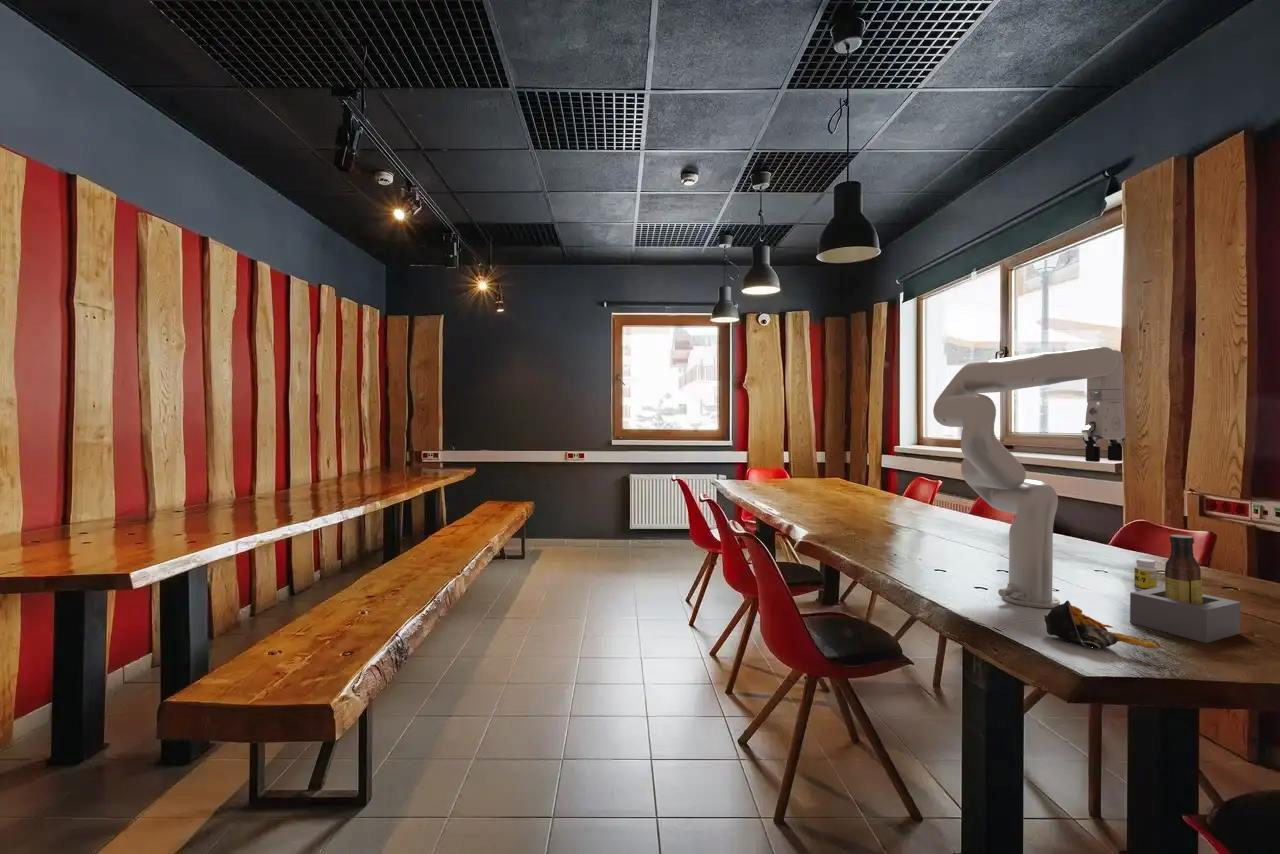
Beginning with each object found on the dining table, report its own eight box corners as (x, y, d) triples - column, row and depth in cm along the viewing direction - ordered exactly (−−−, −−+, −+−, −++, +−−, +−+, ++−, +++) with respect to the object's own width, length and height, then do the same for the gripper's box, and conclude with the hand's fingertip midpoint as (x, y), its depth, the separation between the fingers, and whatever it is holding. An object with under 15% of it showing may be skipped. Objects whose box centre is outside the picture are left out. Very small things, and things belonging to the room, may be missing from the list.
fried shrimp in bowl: (1042, 607, 135) (1140, 595, 125) (1059, 659, 130) (1162, 650, 120) (1034, 600, 129) (1137, 587, 119) (1051, 655, 124) (1160, 645, 114)
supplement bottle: (1129, 587, 168) (1129, 558, 168) (1145, 587, 168) (1145, 557, 168) (1145, 592, 163) (1145, 562, 163) (1161, 592, 164) (1161, 561, 164)
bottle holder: (1206, 643, 126) (1206, 610, 126) (1130, 622, 139) (1130, 592, 139) (1240, 633, 132) (1240, 602, 132) (1163, 614, 145) (1164, 585, 144)
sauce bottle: (1195, 620, 137) (1196, 534, 137) (1208, 629, 131) (1209, 539, 131) (1159, 617, 140) (1160, 532, 140) (1170, 625, 134) (1171, 537, 134)
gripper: (1100, 395, 152) (1099, 463, 152) (1139, 397, 159) (1139, 461, 159) (1069, 397, 159) (1068, 461, 159) (1108, 398, 166) (1107, 459, 166)
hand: (1103, 461), depth 159 cm, fingers open, 9 cm apart
